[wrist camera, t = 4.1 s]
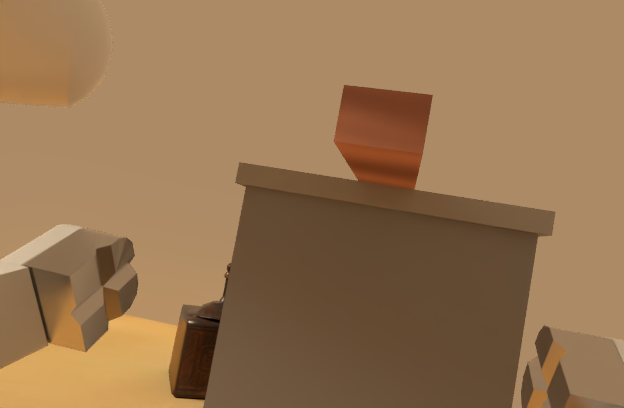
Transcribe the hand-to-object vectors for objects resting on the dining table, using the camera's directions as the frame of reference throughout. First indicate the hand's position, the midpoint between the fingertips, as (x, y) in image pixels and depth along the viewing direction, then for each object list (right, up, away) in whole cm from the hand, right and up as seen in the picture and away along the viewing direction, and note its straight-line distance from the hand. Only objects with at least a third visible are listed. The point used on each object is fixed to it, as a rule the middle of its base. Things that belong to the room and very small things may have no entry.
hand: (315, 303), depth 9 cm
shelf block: (+1, -23, +22) cm, 32 cm away
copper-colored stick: (+5, +3, +19) cm, 20 cm away
